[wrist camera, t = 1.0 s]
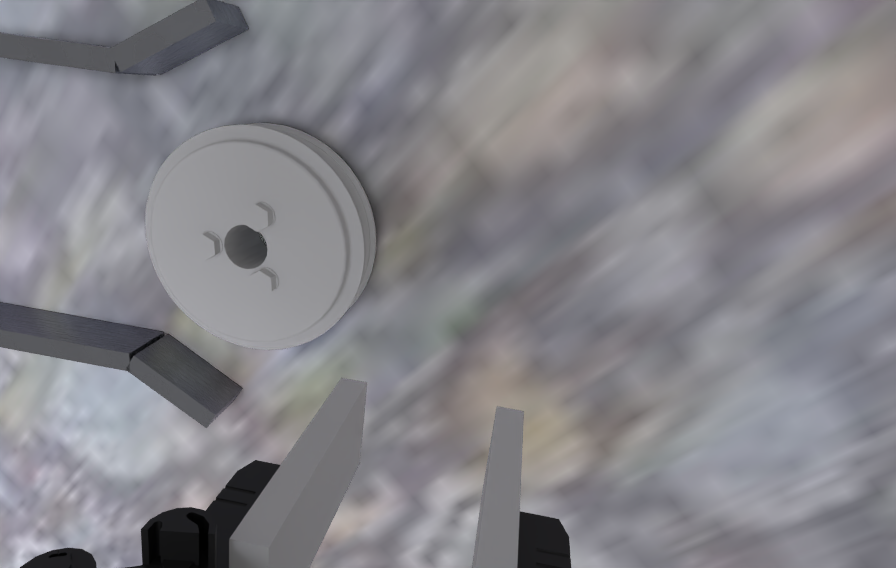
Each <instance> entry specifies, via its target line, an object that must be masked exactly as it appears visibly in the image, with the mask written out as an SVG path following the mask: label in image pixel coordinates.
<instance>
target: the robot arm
mask: <svg viewBox="0 0 896 568" xmlns="http://www.w3.org/2000/svg"><path fill="white" fill-rule="evenodd" d="M366 390H367V382H362V381H356V380H351V379H345V378H341V379H340V381H339V382H338V384H337V385H336V386H335V388H334V389H333V391H332V392H331V394H330V395H329V397H328V398H327V399H326V401H325V402H324V404H323V405H322V407H321V408H320V409H319V411H318V412H317V414H316V415H315V417H314V418H313V419H312V421H311V422H310V424H309V425H308V427H307V428H306V430H305V431H304V432H303V434H302V435H301V437H300V438H299V440H298V441H297V442H296V444H295V445H294V447H293V448H292V450H291V451H290V452H289V454H288V455H287V457H286V458H285V460H284V461H283V463H282V464H281V465H277V464H272V463H267V462H262V461H257V460H255V461H253V462H252V463H250V464H248V465H247V466H245V467H243V468H242V469H240V470H239V471H237V472H236V474H235V475H234V476H233V477H232V479H231V480H230V481H229V482H228V483H227V485H226V487H225V489H223V490H222V491H221V492H220V493H219V495H218V496H217V497H216V500H215V501H213V502H212V503H211V505H210V506H209V507H208V508H207V510H206V511H204V510H201V509H196V508H192V507H189V508H176V509H173V510H169V511H166V512H162V513H161V514H159V515H157V516H156V517H154V518H152V519H150V520H149V521H148V522H147V523H146V524H145V526H144V527H143V528H142V529H141V540H142V561H143V565H141V566H135V567H127V568H310V565H311V563H312V561H313V559H314V557H315V555H316V553H317V551H318V549H319V547H320V545H321V543H322V541H323V539H324V537H325V534H326V532H327V530H328V528H329V526H330V524H331V522H332V520H333V518H334V516H335V514H336V512H337V510H338V508H339V506H340V503H341V501H342V499H343V497H344V495H345V493H346V491H347V489H348V487H349V485H350V483H351V481H352V479H353V477H354V475H355V472H356V470H357V468H358V466H359V464H360V456H361V445H362V434H363V423H364V412H365V401H366ZM523 420H524V411H520V410H515V409H509V408H504V407H498V406H497V408H496V414H495V420H494V426H493V432H492V437H491V443H490V449H489V455H488V461H487V467H486V473H485V478H484V484H483V491H482V498H481V505H480V512H479V520H478V527H477V534H476V541H475V548H474V556H473V563H472V568H571V559H570V545H569V536H568V534H567V533H566V531H565V529H564V527H563V526H562V524H561V522H560V520H559V519H555V518H550V517H545V516H540V515H535V514H530V513H525V512H520V491H521V467H522V443H523ZM20 568H96V561H95V560H94V558H93V556H92V554H90V553H88V552H86V551H84V550H83V549H75V548H64V549H58V550H52V551H49V552H47V553H44V554H42V555H39V556H37V557H35V558H33V559H32V560H30V561H29V562H27V563H26V564H24V565H23V566H21V567H20Z"/></svg>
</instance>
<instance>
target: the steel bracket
mask: <svg viewBox="0 0 896 568" xmlns="http://www.w3.org/2000/svg"><path fill="white" fill-rule="evenodd" d="M248 29H249V28H248V26H247V24H246V22H245V20H244V18H243V15H242V13H241V11H240V9H239V7H237V6H234V5H230V4H227V3H224V2H221V1H217V0H197V1H196V2H194V3H192V4H190V5H188V6H186V7H185V8H183V9H181V10H179V11H177V12H175V13H174V14H172V15H170V16H168V17H166V18H165V19H163V20H161V21H159V22H157V23H155V24H154V25H152V26H150V27H148V28H146V29H145V30H143V31H141V32H139V33H137V34H135V35H134V36H132V37H130V38H128V39H126V40H125V41H123V42H121V43H119V44H117V45H115V46H114V47H106V46H99V45H91V44H84V43H76V42H68V41H61V40H53V39H46V38H38V37H31V36H23V35H16V34H8V33H1V32H0V57H2V58H9V59H17V60H24V61H31V62H38V63H46V64H53V65H60V66H68V67H75V68H82V69H90V70H97V71H104V72H111V73H123V74H141V75H156V74H160V75H161V74H163V73H165V72H167V71H169V70H171V69H173V68H175V67H177V66H179V65H181V64H183V63H184V62H186V61H188V60H190V59H192V58H194V57H196V56H198V55H200V54H202V53H204V52H206V51H207V50H209V49H211V48H213V47H215V46H217V45H219V44H221V43H223V42H225V41H227V40H229V39H230V38H232V37H234V36H236V35H238V34H240V33H242V32H244V31H246V30H248ZM0 347H3V348H8V349H13V350H19V351H24V352H29V353H35V354H40V355H45V356H50V357H56V358H61V359H66V360H72V361H77V362H82V363H88V364H93V365H98V366H103V367H109V368H114V369H119V370H125V371H128V372H130V373H131V374H132V375H134V376H135V377H137V378H138V379H139V380H141V381H142V382H143V383H145V384H146V385H148V386H149V387H150V388H152V389H153V390H154V391H156V392H157V393H159V394H160V395H161V396H163V397H164V398H166V399H167V400H168V401H170V402H171V403H172V404H174V405H175V406H177V407H178V408H179V409H181V410H182V411H183V412H185V413H186V414H188V415H189V416H190V417H192V418H193V419H195V420H196V421H197V422H199V423H200V424H201V425H203V426H204V427H206V428H207V427H208V426H209V425H210V424H211V423H212V422H213V421H214V420H215V419H216V418H217V417H218V416H219V415H220V414H221V413H222V412H223V411H224V410H225V409H226V408H227V407H228V406H229V405H230V404H231V403H232V402H233V401H234V400H235V398H236V397H237V396H238V394H239V393H240V391H241V390H242V389H243V388H241V387H240V386H239V385H237V384H236V383H234V382H233V381H232V380H230V379H229V378H228V377H226V376H225V375H224V374H222V373H221V372H219V371H218V370H217V369H215V368H214V367H213V366H211V365H210V364H209V363H207V362H206V361H204V360H203V359H202V358H200V357H199V356H198V355H196V354H195V353H194V352H192V351H191V350H189V349H188V348H187V347H185V346H184V345H183V344H181V343H180V342H179V341H177V340H176V339H175V338H173V337H172V336H170V335H169V334H167V335H165V336H164V332H162V331H156V330H150V329H145V328H139V327H134V326H128V325H123V324H117V323H112V322H106V321H101V320H95V319H90V318H84V317H79V316H73V315H67V314H62V313H56V312H51V311H45V310H40V309H34V308H29V307H23V306H18V305H12V304H7V303H1V302H0Z"/></svg>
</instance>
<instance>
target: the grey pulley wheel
mask: <svg viewBox="0 0 896 568" xmlns="http://www.w3.org/2000/svg"><path fill="white" fill-rule="evenodd" d="M258 231H259V232H260V233H261V234H262V235H263V237H264V239H265V241H266V244H267V246H266V245H265V244H264V243H263V242H262V240H261V238H260V236H259V232H258ZM145 232H146V240H147V246H148V251H149V254H150V257H151V261H152V264H153V267H154V269H155V271H156V273H157V275H158V278H159V280H160V282H161V283H162V285H163V286H164V288H165V290H166V291H167V293H168V295H169V296H170V297H171V298H172V300H173V301H174V302H175V303H176V305H177V306H178V307H179V308H180V309H181V310H182V311H183V312H184V313H185V314H186V315H187V316H188V317H189V318H190V319H191V320H192V321H194V322H195V323H196V324H197V325H199V326H200V327H201V328H203V329H205V330H206V331H208V332H209V333H211V334H212V335H214V336H216V337H218V338H221V339H223V340H225V341H227V342H230V343H233V344H236V345H239V346H242V347H247V348H252V349H262V350H277V349H286V348H291V347H295V346H299V345H302V344H304V343H307V342H309V341H312V340H313V339H315V338H317V337H319V336H321V335H322V334H324V333H325V332H326V331H328V330H329V329H330V328H331V327H333V326H334V325H335V324H336V323H337V322H338V321H339V320H340V319H341V317H342V316H343V315H344V314H345V312H346V311H347V310H348V309H349V308H350V307H351V306H352V305H353V304H354V303H355V301H356V300H357V299H358V298H359V296H360V295H361V293H362V292H363V290H364V288H365V286H366V284H367V283H368V280H369V277H370V275H371V272H372V269H373V265H374V260H375V254H376V227H375V222H374V217H373V212H372V209H371V206H370V203H369V200H368V197H367V195H366V193H365V191H364V189H363V187H362V185H361V183H360V181H359V180H358V178H357V177H356V175H355V174H354V173H353V171H352V170H351V168H350V167H349V166H348V165H347V164H346V163H345V161H344V160H343V159H342V158H341V157H340V156H339V155H338V154H337V153H335V152H334V151H333V150H332V149H331V148H330V147H328V146H327V145H326V144H324V143H323V142H321V141H320V140H318V139H317V138H315V137H313V136H311V135H309V134H307V133H305V132H303V131H301V130H298V129H295V128H291V127H288V126H285V125H279V124H272V123H250V124H244V125H227V126H222V127H217V128H213V129H209V130H207V131H204V132H202V133H199V134H197V135H195V136H193V137H192V138H190V139H188V140H187V141H185V142H183V143H182V144H181V145H180V146H179V147H178V148H176V149H175V150H174V151H173V152H172V153H171V154H170V155H169V157H168V158H167V159H166V160H165V161H164V163H163V164H162V165H161V167H160V169H159V171H158V172H157V174H156V176H155V178H154V180H153V183H152V186H151V188H150V191H149V195H148V199H147V204H146V213H145Z"/></svg>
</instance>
